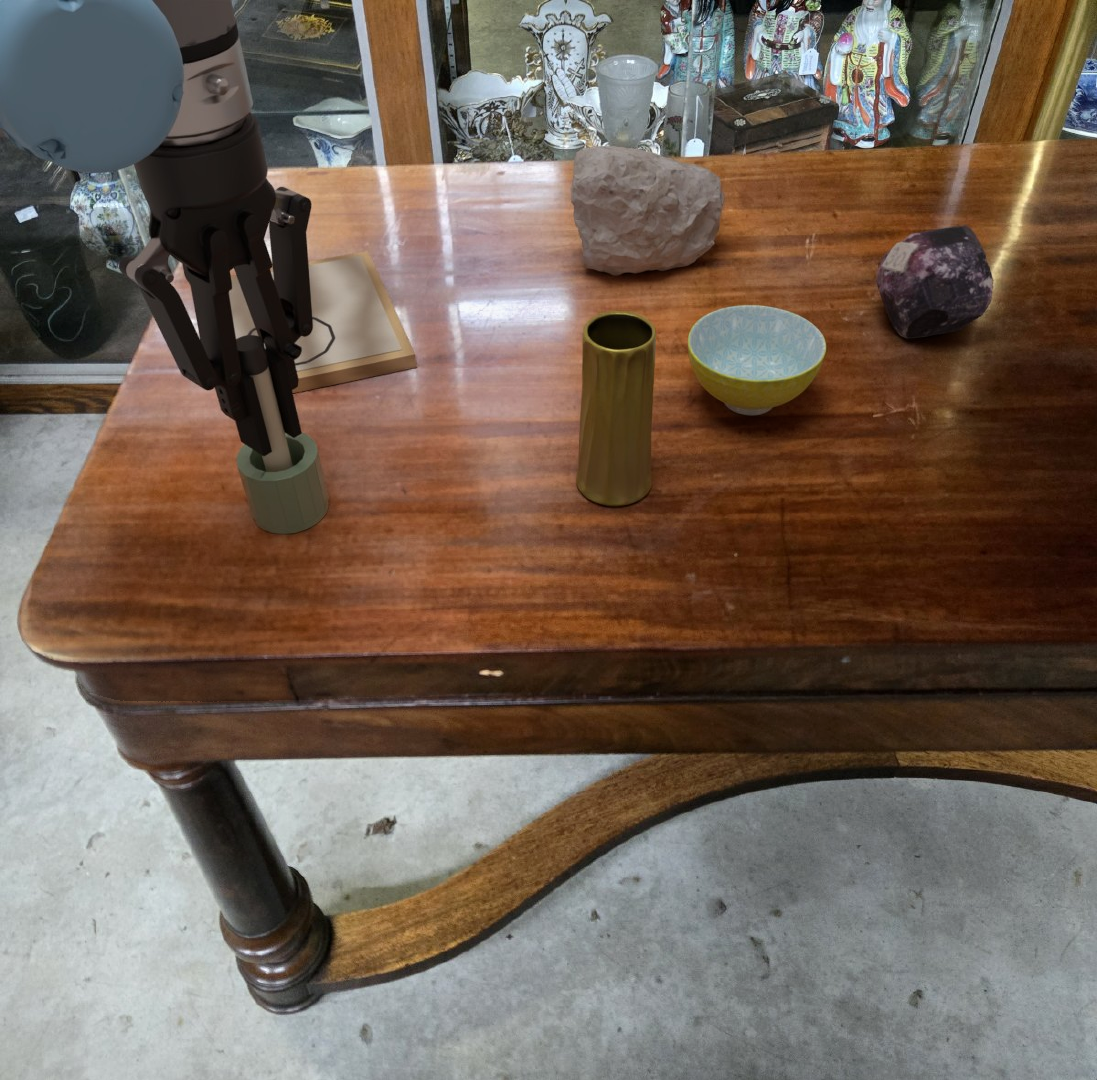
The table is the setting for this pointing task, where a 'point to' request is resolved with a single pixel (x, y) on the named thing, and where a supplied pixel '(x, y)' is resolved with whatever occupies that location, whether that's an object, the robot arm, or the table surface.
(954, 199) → the table surface
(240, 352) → the pen
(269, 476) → the pencil pot
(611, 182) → the rough grey rock
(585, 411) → the vase
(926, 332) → the mineral specimen
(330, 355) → the sketch board
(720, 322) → the bowl
